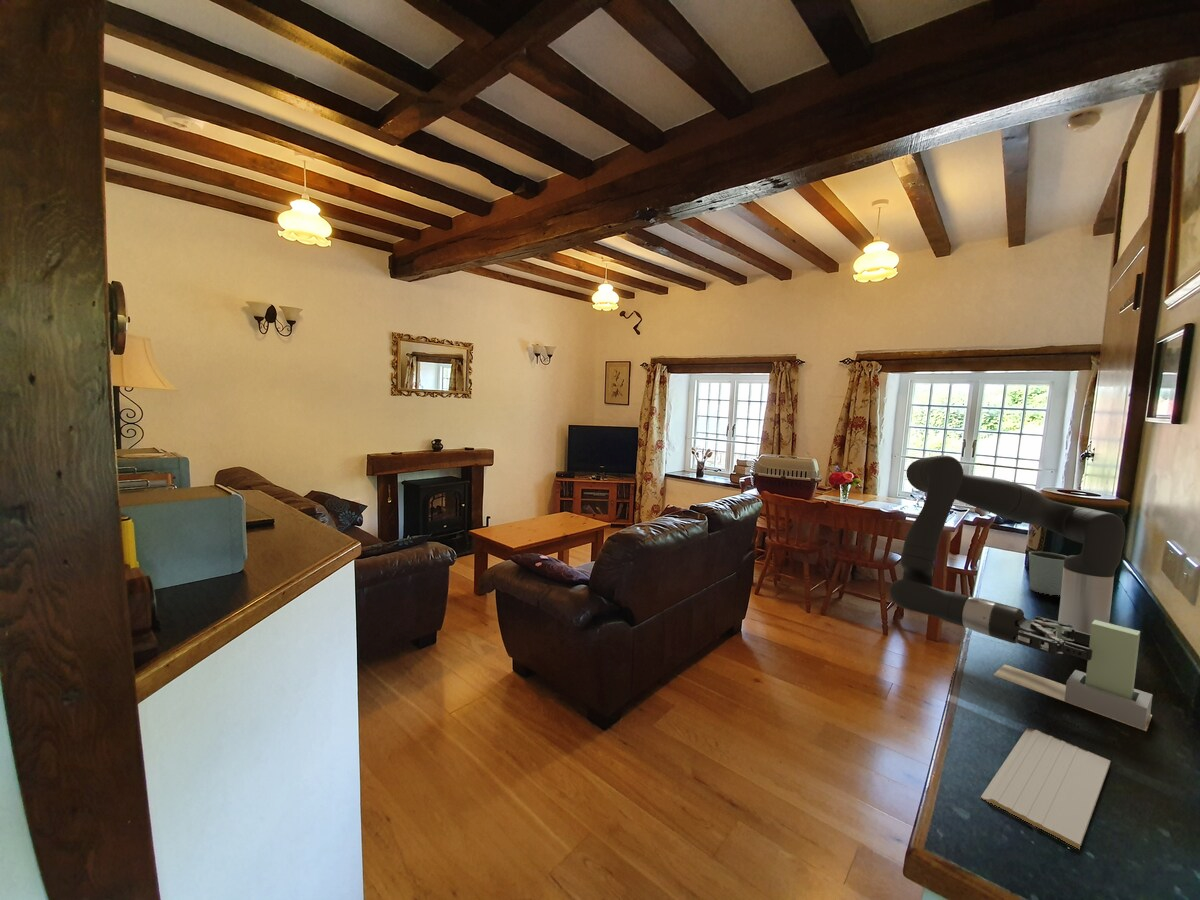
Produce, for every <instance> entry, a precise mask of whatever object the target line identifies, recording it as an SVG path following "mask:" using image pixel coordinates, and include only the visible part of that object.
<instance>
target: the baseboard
mask: <svg viewBox="0 0 1200 900" xmlns="http://www.w3.org/2000/svg"><path fill="white" fill-rule="evenodd" d="M1033 713H1034V714H1035V715H1036V714H1038V715H1040V716H1043V717H1046V718H1048V719H1051V720H1053V721H1056V722H1058V723H1061V724H1064V725H1067V726H1069V727H1071V728H1074V729H1077V730H1079V731H1081V732H1084V733H1087V734H1089V735H1092V736H1095V737H1097V738H1100V739H1102V740H1105V741H1108V742H1110V743H1112V745H1115V744H1116V742H1115V741H1114V740H1113V741H1111V740H1108V739H1105V738H1103V737H1100V736H1097V735H1095V734H1093V733H1090V732H1088V731H1085V730H1082V729H1080V728H1079V727H1080V726H1077V724H1075V723H1073V722H1069V721H1066V720H1062V722H1061V721H1059V720H1056V719H1054V718H1050V717H1048V716H1046V715H1043V714H1040V713H1037V711H1033ZM1029 714H1030V715H1031V716H1032V713H1031V712H1029ZM1111 763H1112V760H1111V759H1109V758H1106V757H1104V756H1102V755H1099V754H1097V753H1094V752H1092V751H1090V750H1087V749H1085V748H1082V747H1080V746H1078V745H1075V744H1072V743H1071V742H1067V741H1065V740H1063V739H1061V738H1058V737H1055V736H1053V735H1051V734H1048V733H1046V732H1044V731H1040V730H1038V729H1036V728H1035V727H1031V726H1027V727H1026V729H1025V730H1024V732H1023V733H1022V735H1021V736H1020V738H1019V739H1018V741H1017V743H1016V744H1015V745H1014V747H1013V748H1012V749H1011V750H1010V753H1009V754H1008V755H1007V757H1006V758H1005V760H1004V761H1003V764H1002V765H1001V766H1000V767H999V769H998V770H997V771H996V773H995V775H994V776H993V778H992V779H991V781H990V783H989V784H988V785H987V787H985V790H984V792H983V793H982V794H981V796H980V799H981V798H982V799H983V801H984V800H986V801H987V802H986V801H985V802H986V803H988V802H989V804H990V803H992V804H993V805H992V804H991V805H992V806H994V805H996V806H997V807H996V806H995V807H996V808H998V807H1000V808H1002V809H1004V810H1006V811H1008V812H1009V813H1011V814H1013V815H1015V816H1017V817H1019V818H1021V819H1022V820H1024V821H1026V822H1028V823H1030V824H1032V825H1034V826H1036V827H1038V828H1040V829H1042V830H1044V831H1046V832H1048V833H1050V834H1052V835H1054V836H1056V837H1058V838H1060V839H1061V840H1063V841H1065V842H1066V843H1068V844H1070V845H1072V846H1074V847H1076V848H1078V849H1079V850H1081V849H1080V848H1081V847H1080V846H1082V845H1083V841H1084V838H1085V835H1086V832H1087V830H1088V827H1089V824H1090V821H1091V819H1092V816H1093V813H1094V811H1095V807H1096V804H1097V802H1098V799H1099V796H1100V794H1101V791H1102V788H1103V786H1104V782H1105V779H1106V776H1107V775H1108V771H1109V768H1110V766H1111ZM982 799H981V800H982ZM1000 808H999V809H1000ZM1009 813H1008V814H1009ZM1011 814H1010V815H1011ZM1013 815H1012V816H1013ZM1015 816H1014V817H1015ZM1017 817H1016V818H1017ZM1019 818H1018V819H1019ZM1022 820H1021V821H1022ZM1024 821H1023V822H1024ZM1026 822H1025V823H1026ZM1028 823H1027V824H1028ZM1030 824H1029V825H1030ZM1032 825H1031V826H1032ZM1034 826H1033V827H1034ZM1036 827H1035V828H1036ZM1038 828H1037V829H1038ZM1066 843H1065V844H1066ZM1068 844H1067V845H1068ZM1070 845H1069V846H1070ZM1072 846H1071V847H1072ZM1074 847H1073V848H1074ZM1076 848H1075V849H1076Z"/></svg>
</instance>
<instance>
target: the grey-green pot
mask: <svg viewBox="0 0 1200 900" xmlns="http://www.w3.org/2000/svg"><path fill="white" fill-rule="evenodd" d="M1066 557H1067V555H1064V554H1060V553H1059V554H1058V553H1054V552H1050V551H1049V552H1048V551H1040V550H1039V551H1036V550H1035V551H1029V552H1028V568H1029V570H1028V571H1029V573H1028V574H1029V589H1030V590H1031V591H1033V592H1037V593H1038V592H1039V594H1042V593H1044V594H1043V595H1046V594H1049V595H1048V596H1052V595H1058V596H1057V597H1061V588H1062V577H1063V567H1064V559H1065V558H1066ZM1059 595H1060V596H1059Z"/></svg>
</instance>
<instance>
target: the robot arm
mask: <svg viewBox="0 0 1200 900" xmlns="http://www.w3.org/2000/svg"><path fill="white" fill-rule="evenodd" d="M906 478H907V481H908V482H909V484H910V485H911V486H912V487H913V488H914V489H915V490H918V491H919V492H922V493H927V494H926V497H925V501H924V504H923V507H922V508H921V510H920V512H919V514H918V515H917V517H916V518H915V520H914V522H913V523H912V524H911V526H910V528H909V529H908V531H907V533H906V536H905V539H904V544H903V546H902V547H903V548H902V553H901V558H900V565H901V567H902V569H903V573H902V574H903V575H902V578H901V579H897V580H895V581H894V582H892V583H891V585H890V587H889V590H888V593H889V597H890V598H891V600H892V602H893V603H894V604H895V605H897V606H898V607H899V608H903V609H906V610H908V611H913V612H917V613H920V614H924V615H928V616H932V617H936V618H937V619H940V620H941V621H942V620H943V621H945V622H948V623H951V624H953V625H957V626H960V627H964V628H967V629H969V630H972V631H973V632H977V633H978V634H982V635H986V636H988V637H991V638H994V639H998V640H1001V641H1004V642H1007V643H1011V644H1018V645H1022V646H1025V647H1029V648H1032V649H1034V650H1037V651H1039V652H1043V653H1046V654H1049V655H1053V656H1056V655H1057V654H1061V655H1062V654H1066V655H1069V656H1073V657H1076V658H1079V659H1082V660H1085V661H1088V660H1091V658H1092V649H1090V648H1089V643H1090V634H1091V624H1092V622H1093V621H1094V620H1098V621H1102V622H1106V623H1110V621H1111V620H1110V618H1111V610H1112V609H1111V607H1112V601H1113V600H1112V599H1113V590H1114V579H1115V572H1116V570H1117V568H1118V567H1119V565H1120V563H1121V560H1122V555H1123V549H1124V544H1125V538H1126V526H1125V522H1124V521H1123V519H1122V518H1121V517H1120V516H1118V515H1117V514H1115V513H1111V512H1107V511H1104V510H1098V509H1093V508H1088V507H1081V506H1076V505H1072V504H1071V505H1070V504H1066V503H1062V502H1058V501H1056V500H1055V501H1054V500H1051V499H1049V498H1048V497H1045V496H1044V495H1043V494H1042V493H1040V492H1038V491H1037V490H1035V489H1033V488H1030V487H1028V486H1025V485H1023V484H1020V483H1016V482H1013V481H1010V480H1006V479H1001V478H996V477H988V476H981V475H973V474H968V473H967V474H966V473H964V468H963V466H962V464H961V462H960V461H959V460H958V459H956V458H955V457H953V456H951V455H935V456H928V457H922V458H919V459H917V460H914V461H913V462H912V463H910V464H909V465H908V467H907V468H906ZM955 501H959V502H961V503H964V504H967V505H969V506H972V507H974V508H977V509H980V510H983V511H986V512H988V513H991V514H994V515H996V516H999V517H1002V518H1005V519H1007V520H1011V521H1015V522H1018V523H1022V524H1023V523H1024V524H1029V525H1035V526H1039V527H1042V528H1045V529H1046V530H1048V531H1051V532H1053V533H1055V534H1058V535H1060V536H1061V537H1063V538H1066V539H1068V540H1071V541H1073V542H1077V543H1079V544H1082V549H1081V551H1080V554H1076V555H1074V554H1071V555H1068V556H1067V555H1066V556H1067V557H1066V558H1065V559H1064V567H1063V577H1062V588H1061V596H1060V600H1059V609H1058V619H1057V620H1053V619H1050V618H1046V617H1042V616H1038V615H1037V616H1034V619H1028V618H1025V613H1024V611H1023V609H1021V608H1019V607H1014V606H1012V605H1008V604H1004V603H1001V602H997V601H991V600H989V599H984V598H981V597H973V596H969V595H965V594H962V593H958V592H953V591H949V590H942V589H939V588H937V587H934V586H933V585H934V582H933V580H934V578H933V577H934V576H933V575H934V573H933V571H934V566H935V563H936V559H937V553H938V548H939V543H940V541H941V537H942V533H943V530H944V526H946V522H947V519H948V517H949V514H950V513H951V511H952V507H953V504H954V503H955ZM1069 641H1070V642H1069ZM1073 642H1075V643H1073ZM1076 643H1078V644H1076ZM1080 644H1081V645H1080ZM1084 645H1085V646H1084ZM1087 646H1088V647H1087Z"/></svg>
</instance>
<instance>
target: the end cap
mask: <svg viewBox="0 0 1200 900" xmlns="http://www.w3.org/2000/svg"><path fill="white" fill-rule="evenodd" d="M1085 681H1086V672H1084V671H1080V670H1078V669H1075V670H1074V671H1073V672H1072V674H1070V676H1069V677H1068V679H1067V680H1066V684H1065V685H1066V692H1065V701H1067V702H1070V703H1072V704H1071V705H1073V704H1075V705H1074V706H1076V705H1078V706H1081V707H1083V708H1082V709H1084V708H1086V709H1085V710H1087V709H1089V710H1092V711H1094V712H1093V713H1095V712H1097V713H1096V714H1098V713H1100V714H1103V715H1105V716H1104V717H1106V716H1108V717H1107V718H1109V717H1111V718H1114V719H1116V720H1115V721H1117V720H1119V721H1118V722H1120V721H1122V722H1125V723H1127V724H1126V725H1128V724H1130V725H1129V726H1131V725H1133V726H1136V727H1138V728H1137V729H1139V728H1141V729H1140V730H1142V729H1144V730H1145V727H1146V724H1147V722H1148V719H1149V717H1150V714H1151V710H1152V703H1153V696H1154V695H1153V694H1152V693H1149V692H1146V691H1142V690H1140V689H1136V688H1134V691H1133V700H1130V699H1127V698H1124V697H1121V696H1118V695H1115V694H1112V693H1109V692H1106V691H1103V690H1100V689H1097V688H1094V687H1091V686H1088V685H1085ZM1065 701H1064V702H1065ZM1067 702H1066V703H1067ZM1070 703H1069V704H1070ZM1078 706H1077V707H1078ZM1081 707H1080V708H1081ZM1089 710H1088V711H1089ZM1092 711H1091V712H1092ZM1100 714H1099V715H1100ZM1103 715H1102V716H1103ZM1111 718H1110V719H1111ZM1114 719H1113V720H1114ZM1122 722H1121V723H1122ZM1125 723H1124V724H1125ZM1133 726H1132V727H1133ZM1136 727H1135V728H1136ZM1144 730H1143V731H1144Z"/></svg>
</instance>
